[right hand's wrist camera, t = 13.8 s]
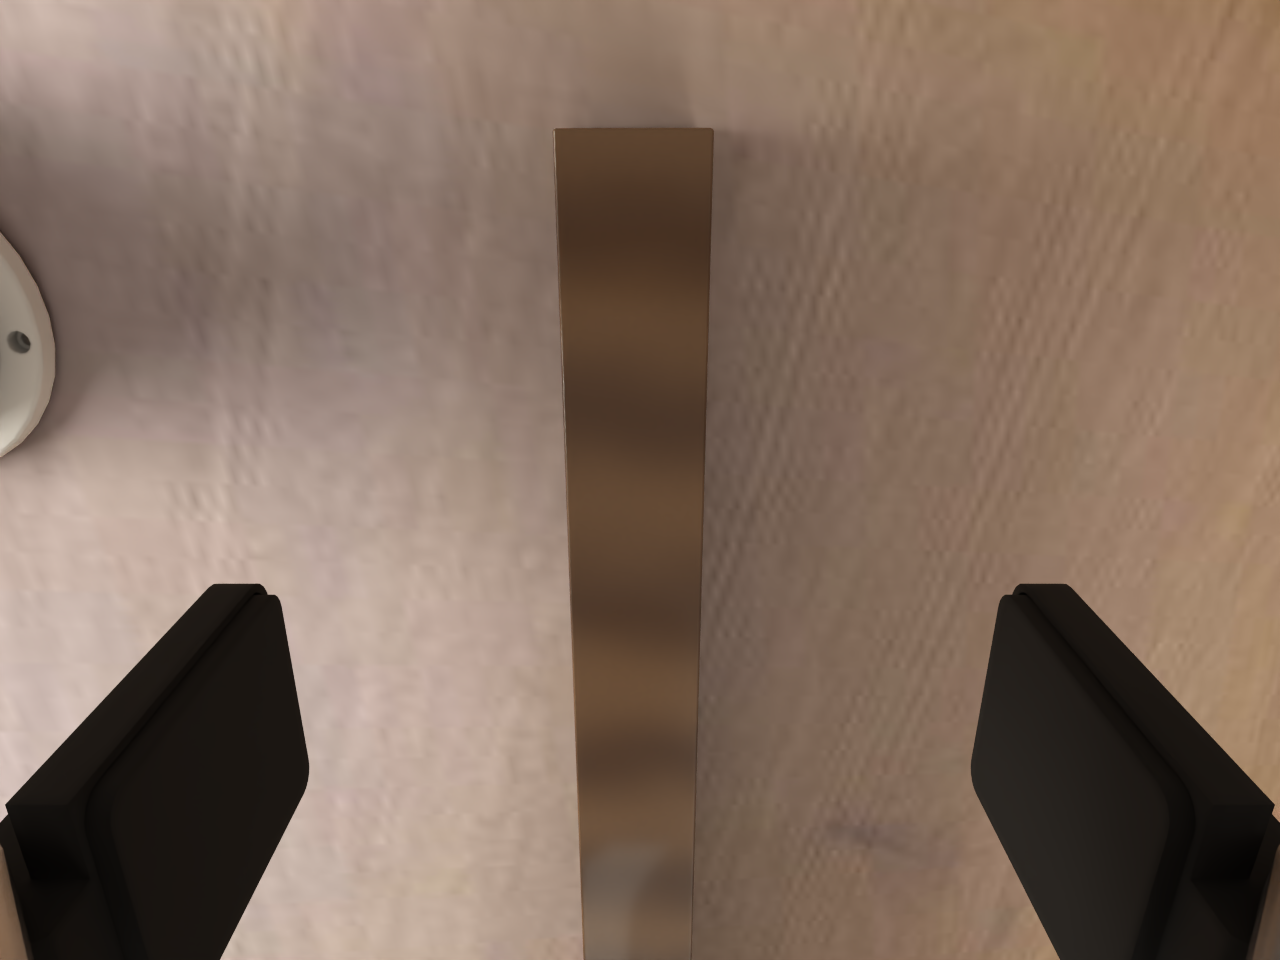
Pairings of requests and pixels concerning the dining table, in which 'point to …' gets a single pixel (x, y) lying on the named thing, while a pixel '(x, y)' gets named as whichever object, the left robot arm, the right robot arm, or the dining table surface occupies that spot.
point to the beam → (635, 516)
